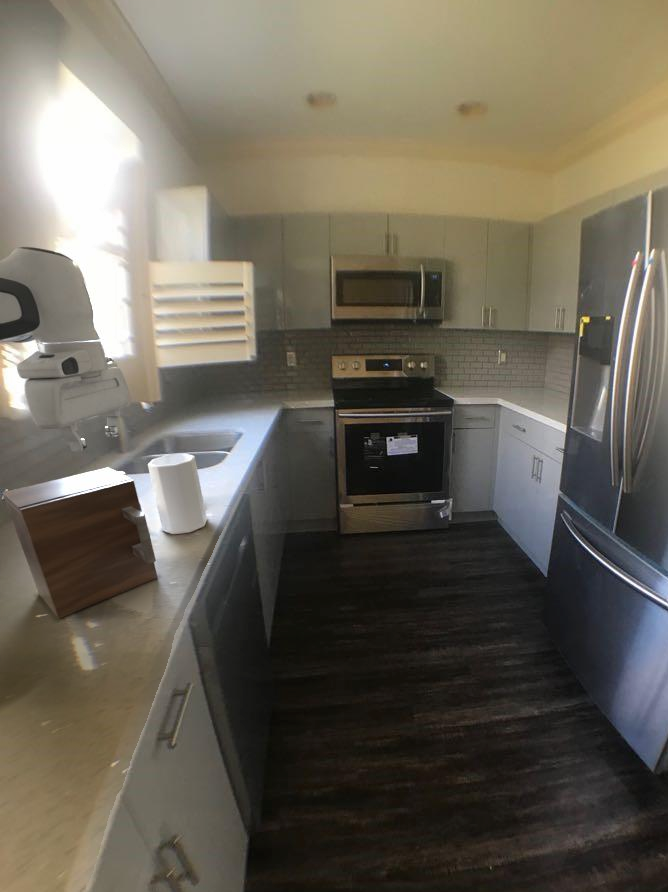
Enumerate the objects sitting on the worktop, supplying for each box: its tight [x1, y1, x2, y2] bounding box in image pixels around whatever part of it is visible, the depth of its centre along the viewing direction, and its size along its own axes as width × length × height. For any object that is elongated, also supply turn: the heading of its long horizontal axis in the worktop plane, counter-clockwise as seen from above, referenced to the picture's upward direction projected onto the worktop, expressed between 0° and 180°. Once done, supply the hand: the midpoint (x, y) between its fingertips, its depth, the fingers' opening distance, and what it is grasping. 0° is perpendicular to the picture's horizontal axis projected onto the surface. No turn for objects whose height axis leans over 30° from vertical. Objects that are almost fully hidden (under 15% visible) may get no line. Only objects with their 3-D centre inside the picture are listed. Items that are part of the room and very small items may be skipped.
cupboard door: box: [19, 478, 158, 619], centre depth 86 cm, size 8×18×22 cm, turn 139°
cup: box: [147, 453, 208, 535], centre depth 119 cm, size 11×11×18 cm
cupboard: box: [2, 467, 132, 617], centre depth 92 cm, size 12×18×22 cm, turn 139°
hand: (97, 442), depth 80 cm, fingers open, 8 cm apart
